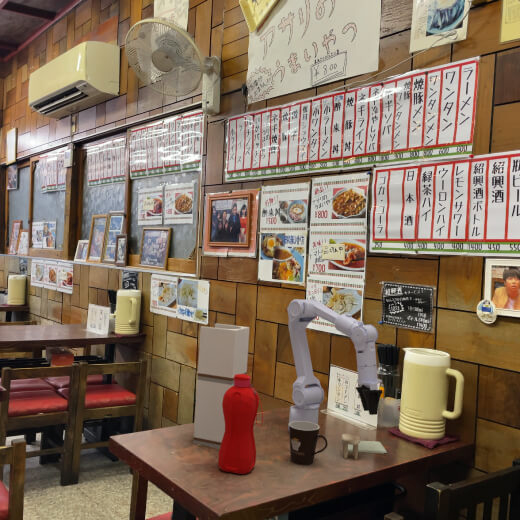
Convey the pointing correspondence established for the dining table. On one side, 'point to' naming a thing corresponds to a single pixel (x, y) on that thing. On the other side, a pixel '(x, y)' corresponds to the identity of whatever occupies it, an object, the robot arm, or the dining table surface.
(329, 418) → the dining table surface
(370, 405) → the robot arm
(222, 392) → the grey tall box
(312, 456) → the coffee mug
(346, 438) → the wooden stool
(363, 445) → the rubber mat
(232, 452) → the water bottle
